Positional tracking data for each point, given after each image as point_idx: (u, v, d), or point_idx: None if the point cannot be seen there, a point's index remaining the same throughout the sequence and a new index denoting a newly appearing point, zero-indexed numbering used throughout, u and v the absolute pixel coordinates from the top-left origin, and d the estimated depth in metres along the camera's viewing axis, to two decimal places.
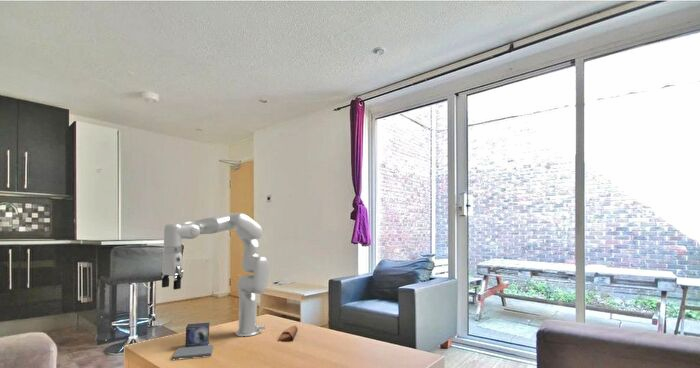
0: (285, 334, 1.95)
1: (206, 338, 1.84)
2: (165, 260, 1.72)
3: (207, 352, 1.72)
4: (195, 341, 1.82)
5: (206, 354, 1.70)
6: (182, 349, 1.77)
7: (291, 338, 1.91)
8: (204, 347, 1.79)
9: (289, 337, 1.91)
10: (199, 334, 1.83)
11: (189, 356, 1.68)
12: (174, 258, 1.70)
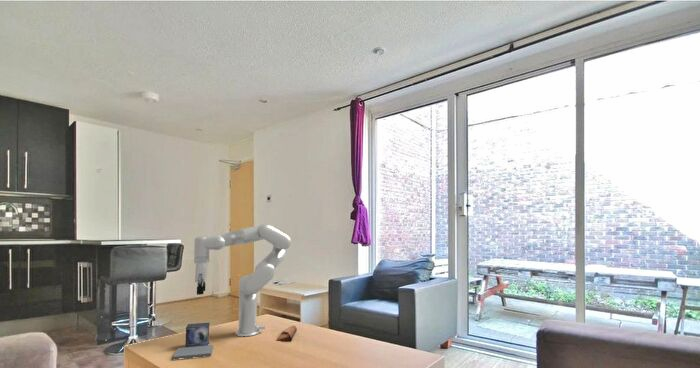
0: (284, 334, 1.95)
1: (206, 338, 1.84)
2: (206, 268, 1.98)
3: (207, 352, 1.72)
4: (195, 341, 1.82)
5: (206, 354, 1.70)
6: (182, 349, 1.77)
7: (290, 338, 1.91)
8: (204, 347, 1.79)
9: (288, 337, 1.91)
10: (199, 334, 1.83)
11: (189, 356, 1.68)
12: None
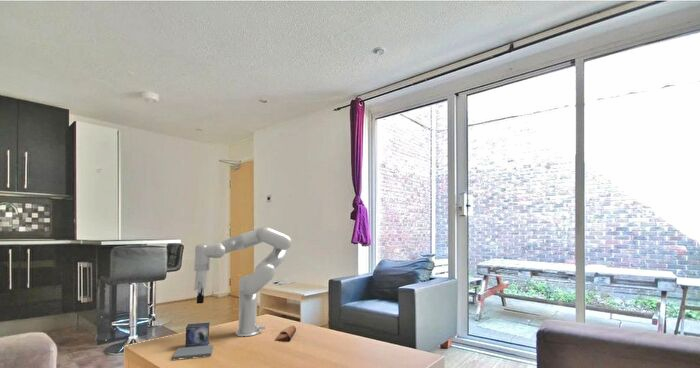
0: (283, 334, 1.95)
1: (206, 338, 1.84)
2: (206, 276, 1.98)
3: (207, 352, 1.72)
4: (195, 341, 1.82)
5: (206, 354, 1.70)
6: (182, 349, 1.77)
7: (288, 338, 1.91)
8: (204, 347, 1.79)
9: (286, 337, 1.91)
10: (199, 334, 1.83)
11: (189, 356, 1.68)
12: None
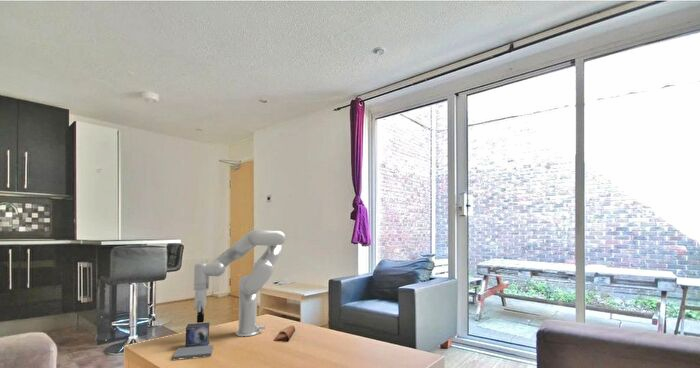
0: (281, 334, 1.96)
1: (206, 338, 1.84)
2: (205, 295, 1.97)
3: (207, 352, 1.72)
4: (195, 341, 1.82)
5: (206, 354, 1.70)
6: (182, 349, 1.77)
7: (287, 338, 1.91)
8: (204, 347, 1.79)
9: (285, 337, 1.92)
10: (199, 334, 1.83)
11: (189, 356, 1.68)
12: None
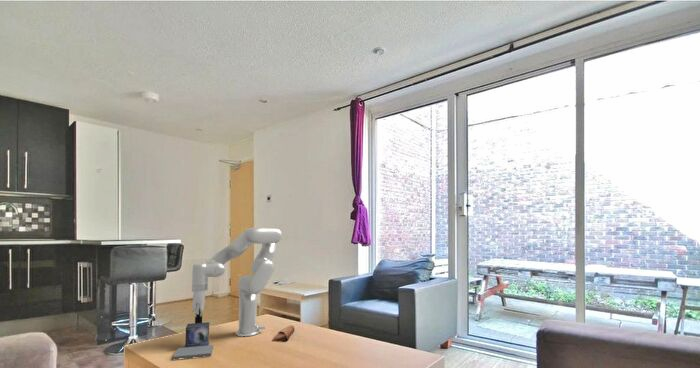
0: (280, 334, 1.96)
1: (206, 338, 1.83)
2: (204, 296, 1.91)
3: (207, 352, 1.72)
4: (195, 341, 1.82)
5: (206, 354, 1.70)
6: (182, 349, 1.77)
7: (285, 338, 1.91)
8: (204, 347, 1.79)
9: (283, 337, 1.92)
10: (198, 334, 1.83)
11: (189, 356, 1.68)
12: None
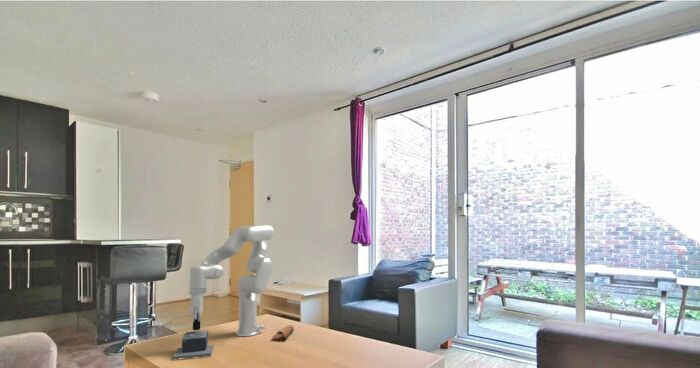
0: (279, 334, 1.96)
1: None
2: (202, 300, 1.83)
3: (207, 352, 1.72)
4: None
5: (206, 354, 1.70)
6: None
7: (284, 338, 1.91)
8: None
9: (282, 337, 1.92)
10: None
11: (189, 356, 1.68)
12: None
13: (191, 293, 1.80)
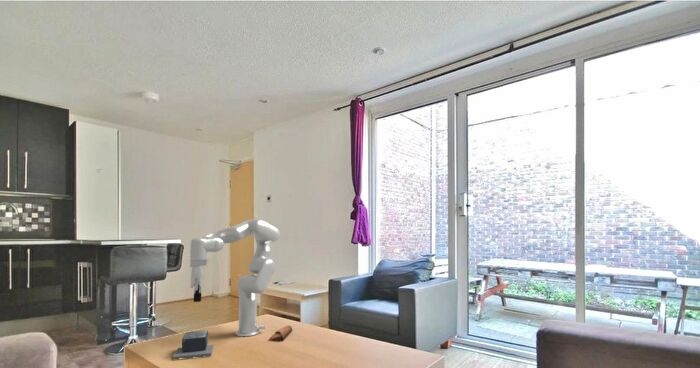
0: (277, 334, 1.96)
1: None
2: (203, 272, 1.83)
3: (207, 352, 1.72)
4: None
5: (206, 354, 1.70)
6: None
7: (281, 338, 1.91)
8: None
9: (279, 337, 1.92)
10: None
11: (189, 356, 1.68)
12: None
13: (192, 265, 1.80)
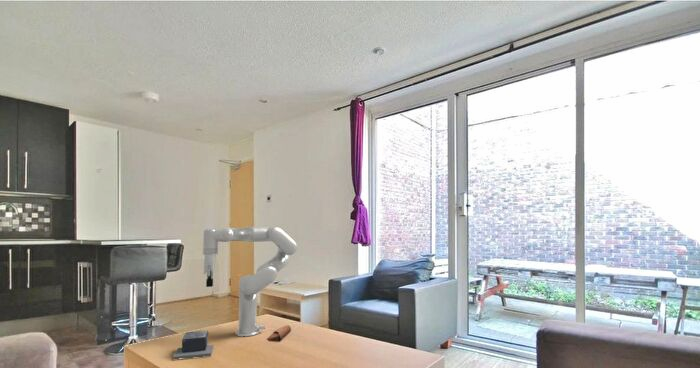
0: (275, 334, 1.96)
1: None
2: (214, 260, 2.00)
3: (207, 352, 1.72)
4: None
5: (206, 354, 1.70)
6: None
7: (279, 338, 1.92)
8: None
9: (277, 337, 1.92)
10: None
11: (189, 356, 1.68)
12: None
13: (205, 253, 1.98)
